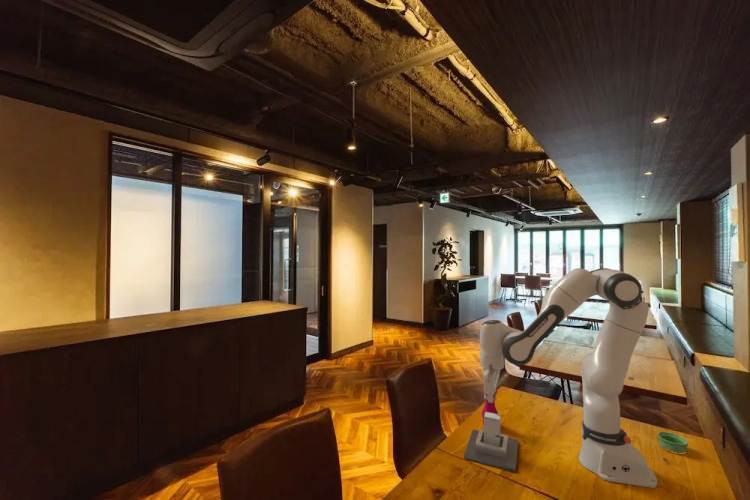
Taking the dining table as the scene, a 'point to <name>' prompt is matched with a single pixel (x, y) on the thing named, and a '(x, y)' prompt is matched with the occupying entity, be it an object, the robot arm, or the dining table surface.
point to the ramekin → (672, 442)
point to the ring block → (492, 451)
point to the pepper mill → (489, 405)
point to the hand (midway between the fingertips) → (492, 396)
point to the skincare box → (492, 429)
